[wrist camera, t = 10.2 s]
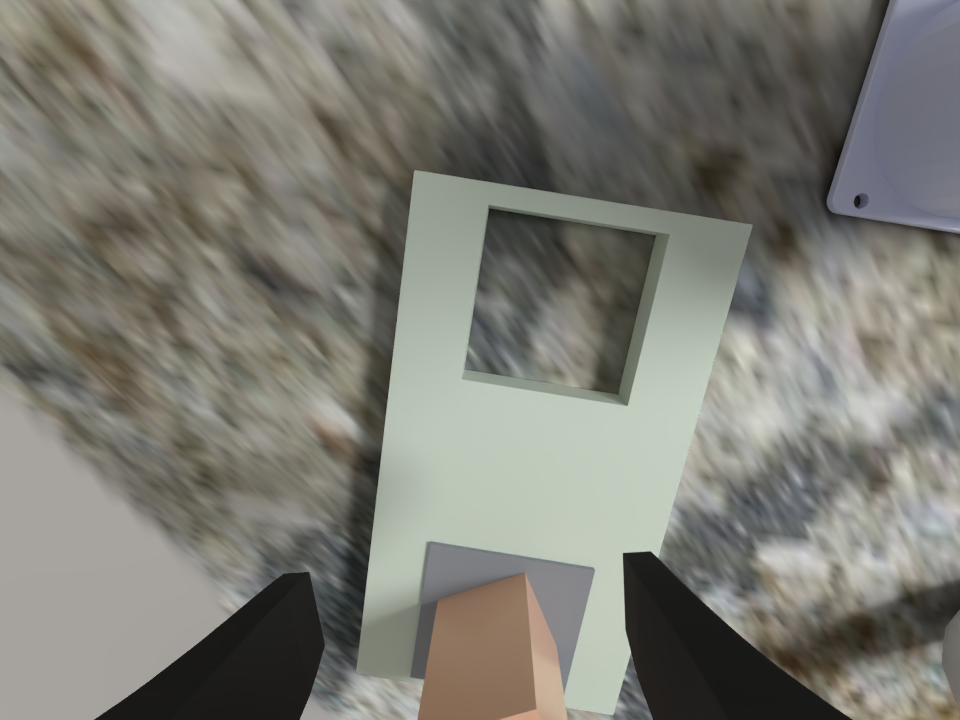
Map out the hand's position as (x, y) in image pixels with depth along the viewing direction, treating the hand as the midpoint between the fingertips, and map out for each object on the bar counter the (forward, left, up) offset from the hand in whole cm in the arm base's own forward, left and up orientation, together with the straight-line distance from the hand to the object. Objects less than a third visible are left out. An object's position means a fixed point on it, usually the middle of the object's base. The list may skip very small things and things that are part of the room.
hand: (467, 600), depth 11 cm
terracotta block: (-2, +8, -8) cm, 12 cm away
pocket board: (-2, +1, -10) cm, 10 cm away
